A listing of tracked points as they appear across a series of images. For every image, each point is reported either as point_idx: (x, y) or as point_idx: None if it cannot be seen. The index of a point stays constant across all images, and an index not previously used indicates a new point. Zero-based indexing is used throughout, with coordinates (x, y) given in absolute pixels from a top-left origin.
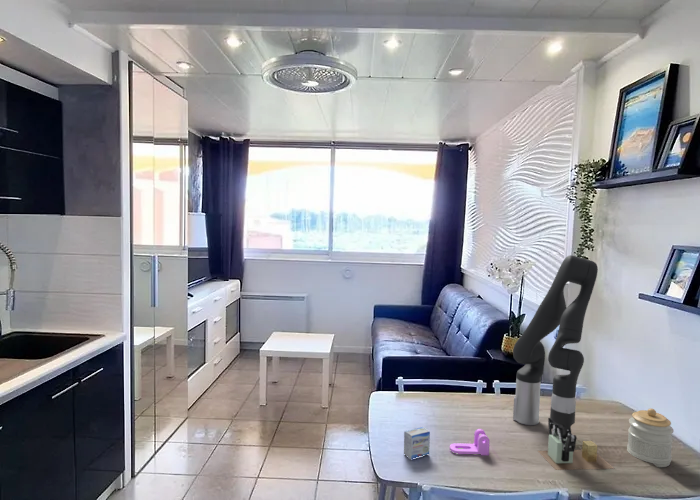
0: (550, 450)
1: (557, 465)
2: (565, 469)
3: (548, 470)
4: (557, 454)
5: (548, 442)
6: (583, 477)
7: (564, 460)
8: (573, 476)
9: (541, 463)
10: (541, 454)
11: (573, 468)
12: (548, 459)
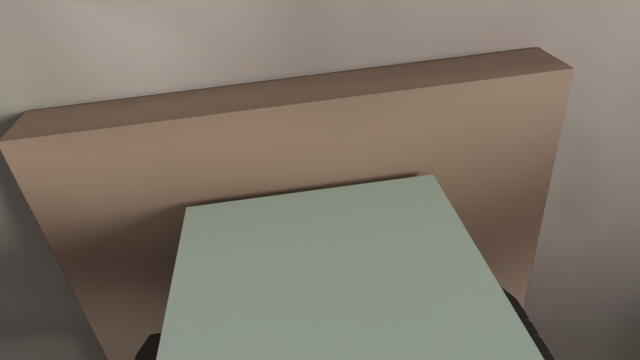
0: (383, 251)
1: (151, 206)
2: (64, 267)
3: (117, 53)
4: (171, 323)
5: (514, 323)
6: (68, 356)
7: (148, 336)
8: (54, 287)
9: (309, 20)
10: (458, 89)
11: (123, 344)
12: (309, 141)
